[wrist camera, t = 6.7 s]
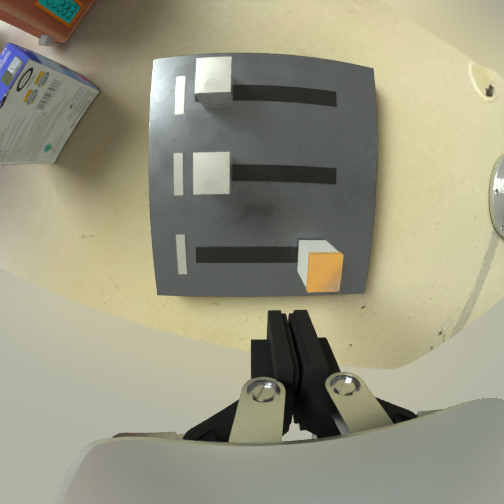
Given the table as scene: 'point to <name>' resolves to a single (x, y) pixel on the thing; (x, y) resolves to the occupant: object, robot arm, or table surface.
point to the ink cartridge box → (38, 106)
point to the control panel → (45, 17)
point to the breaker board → (259, 171)
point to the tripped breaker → (319, 266)
